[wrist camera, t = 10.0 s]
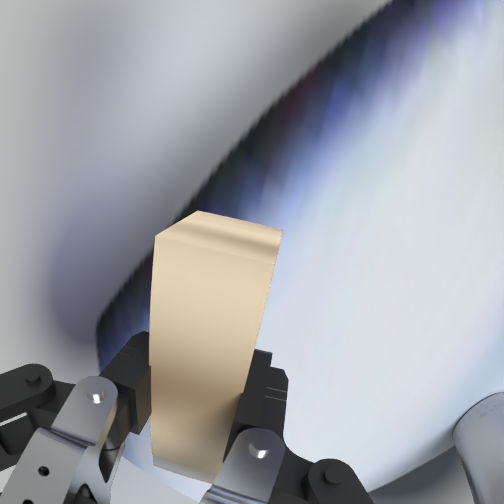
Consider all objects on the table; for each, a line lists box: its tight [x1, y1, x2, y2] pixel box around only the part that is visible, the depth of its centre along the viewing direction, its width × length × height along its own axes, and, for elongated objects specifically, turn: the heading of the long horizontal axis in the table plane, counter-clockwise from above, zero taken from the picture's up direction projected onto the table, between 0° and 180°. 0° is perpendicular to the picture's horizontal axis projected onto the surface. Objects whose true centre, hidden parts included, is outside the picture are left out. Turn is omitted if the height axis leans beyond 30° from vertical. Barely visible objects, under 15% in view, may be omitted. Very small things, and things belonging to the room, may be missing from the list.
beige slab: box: [149, 211, 283, 484], centre depth 11 cm, size 15×5×3 cm, turn 169°
